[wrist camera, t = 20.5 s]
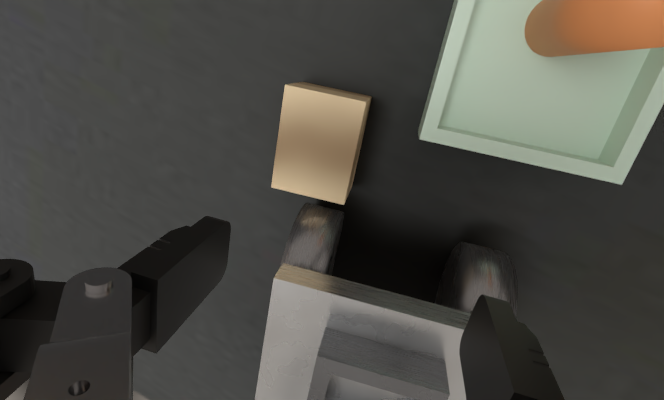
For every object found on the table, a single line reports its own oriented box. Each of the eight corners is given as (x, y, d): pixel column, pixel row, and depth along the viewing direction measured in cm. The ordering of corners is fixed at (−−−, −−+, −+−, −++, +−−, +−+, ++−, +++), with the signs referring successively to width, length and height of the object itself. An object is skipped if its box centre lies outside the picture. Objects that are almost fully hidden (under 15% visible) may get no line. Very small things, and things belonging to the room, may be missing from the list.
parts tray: (495, -148, 18) (508, -179, 16) (736, -114, 17) (788, -141, 15) (417, 131, 23) (419, 139, 21) (599, 172, 22) (621, 184, 20)
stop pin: (536, -11, 19) (640, -73, 11) (597, -2, 19) (754, -59, 10) (516, 51, 20) (597, 39, 12) (574, 61, 20) (698, 55, 11)
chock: (303, 81, 24) (284, 84, 20) (372, 96, 23) (366, 102, 20) (290, 169, 26) (271, 187, 22) (352, 184, 25) (343, 205, 22)
